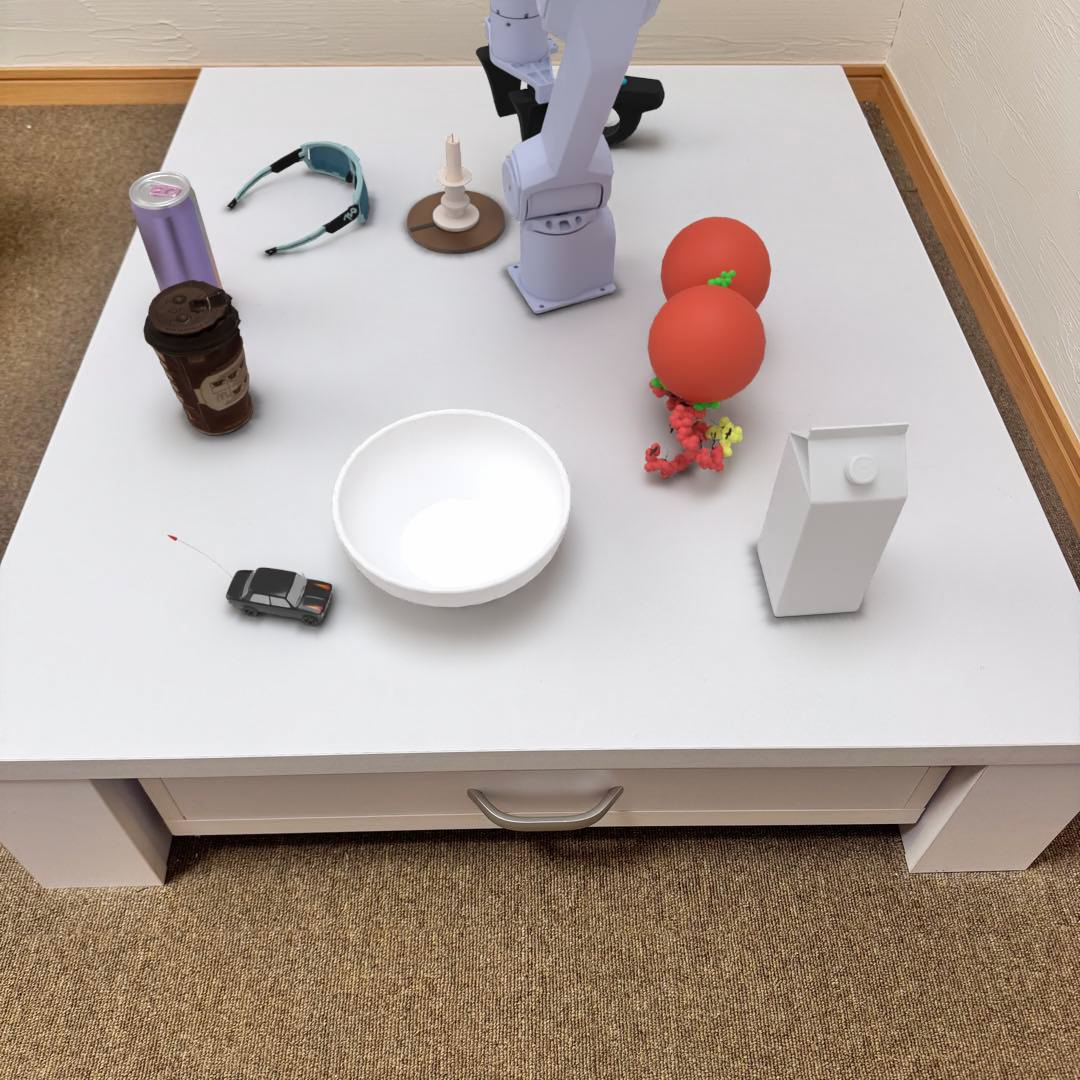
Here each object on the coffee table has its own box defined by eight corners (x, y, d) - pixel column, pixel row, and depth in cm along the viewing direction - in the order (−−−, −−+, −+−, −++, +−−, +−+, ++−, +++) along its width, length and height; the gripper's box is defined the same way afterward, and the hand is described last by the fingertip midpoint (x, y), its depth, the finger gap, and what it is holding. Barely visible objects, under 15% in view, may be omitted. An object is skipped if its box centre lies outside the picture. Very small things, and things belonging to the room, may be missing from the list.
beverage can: (215, 336, 109) (176, 211, 97) (160, 328, 109) (115, 203, 97) (237, 299, 112) (202, 173, 100) (184, 291, 113) (143, 166, 101)
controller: (563, 126, 132) (565, 47, 124) (661, 137, 131) (669, 59, 123) (556, 145, 130) (557, 66, 122) (656, 157, 128) (664, 78, 120)
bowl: (396, 678, 84) (386, 630, 79) (311, 508, 95) (297, 455, 89) (610, 586, 90) (615, 534, 84) (507, 435, 100) (506, 380, 95)
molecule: (627, 306, 111) (680, 179, 100) (724, 336, 113) (788, 214, 101) (608, 475, 95) (669, 345, 83) (722, 507, 96) (798, 384, 85)
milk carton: (755, 549, 92) (799, 393, 77) (836, 544, 93) (894, 387, 78) (773, 618, 88) (823, 466, 73) (857, 612, 88) (924, 460, 73)
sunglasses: (394, 217, 121) (384, 181, 116) (279, 278, 117) (265, 243, 113) (336, 157, 128) (325, 121, 123) (226, 213, 124) (210, 178, 120)
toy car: (324, 630, 87) (308, 574, 81) (186, 608, 88) (159, 551, 82) (338, 592, 89) (323, 534, 83) (203, 571, 91) (178, 513, 84)
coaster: (483, 185, 125) (483, 180, 124) (519, 239, 118) (519, 234, 118) (394, 207, 122) (393, 202, 121) (426, 263, 116) (426, 258, 115)
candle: (488, 215, 120) (486, 131, 112) (459, 238, 117) (455, 153, 109) (452, 198, 122) (448, 114, 114) (423, 220, 119) (416, 136, 111)
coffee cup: (283, 393, 104) (256, 287, 93) (242, 453, 99) (208, 348, 89) (204, 373, 105) (169, 266, 95) (160, 430, 101) (117, 325, 90)
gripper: (587, 31, 101) (582, 159, 112) (528, -34, 109) (528, 91, 120) (518, 46, 99) (520, 174, 110) (463, -22, 107) (470, 104, 118)
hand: (520, 132), depth 115 cm, fingers open, 7 cm apart
